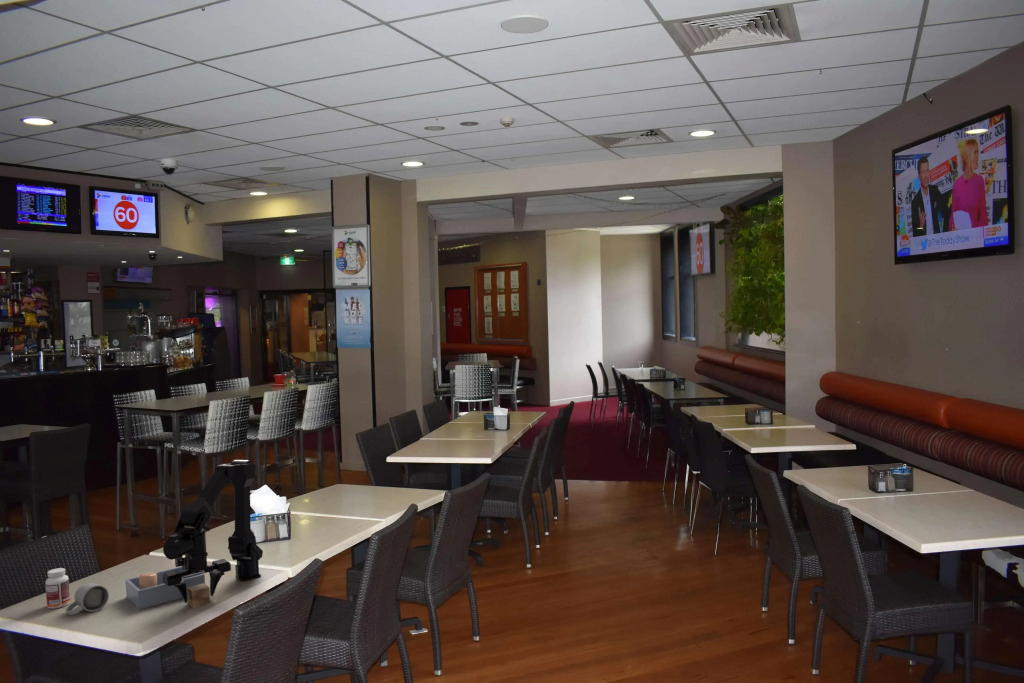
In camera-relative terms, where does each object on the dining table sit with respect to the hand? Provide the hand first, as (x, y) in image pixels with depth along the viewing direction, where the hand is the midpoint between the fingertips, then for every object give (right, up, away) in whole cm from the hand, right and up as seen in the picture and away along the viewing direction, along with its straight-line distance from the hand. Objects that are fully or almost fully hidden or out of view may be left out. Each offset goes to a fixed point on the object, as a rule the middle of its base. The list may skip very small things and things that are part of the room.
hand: (198, 599), depth 225 cm
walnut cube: (0, -1, 0) cm, 1 cm away
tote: (-14, -2, +9) cm, 17 cm away
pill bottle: (-45, -3, +3) cm, 45 cm away
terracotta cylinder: (-18, -1, +5) cm, 19 cm away
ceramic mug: (-33, -3, -2) cm, 33 cm away
